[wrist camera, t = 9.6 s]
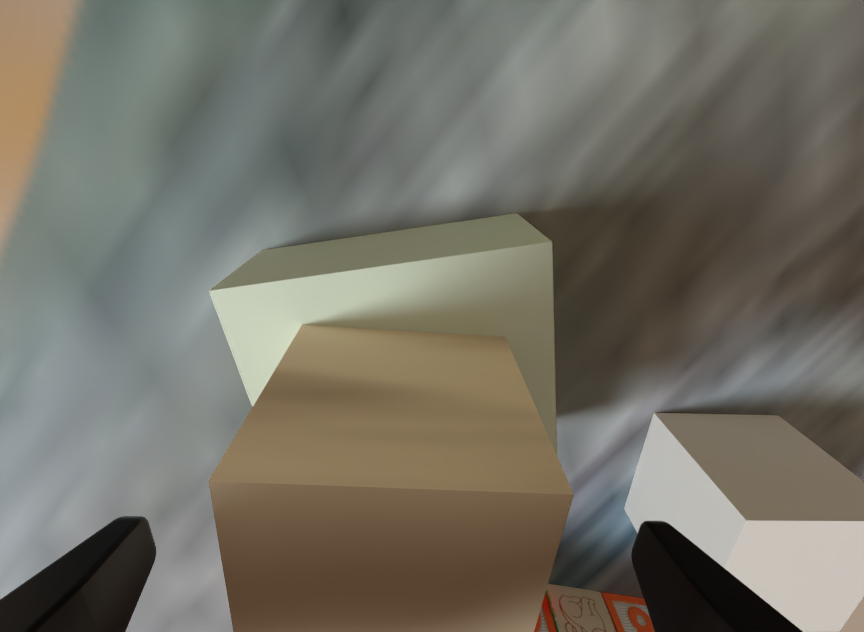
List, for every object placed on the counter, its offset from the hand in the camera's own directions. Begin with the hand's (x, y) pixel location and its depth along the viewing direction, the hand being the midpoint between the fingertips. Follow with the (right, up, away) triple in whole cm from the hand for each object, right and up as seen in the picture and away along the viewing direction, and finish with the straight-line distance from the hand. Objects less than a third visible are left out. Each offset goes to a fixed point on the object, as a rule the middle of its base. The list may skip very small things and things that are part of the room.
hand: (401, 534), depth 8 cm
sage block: (0, +3, +7) cm, 8 cm away
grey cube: (+11, -2, +10) cm, 15 cm away
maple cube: (0, +1, +4) cm, 4 cm away
